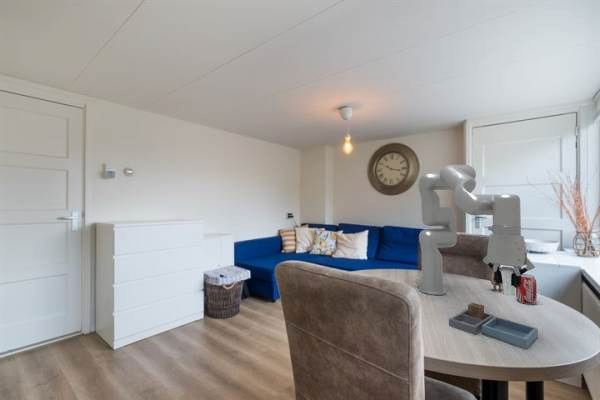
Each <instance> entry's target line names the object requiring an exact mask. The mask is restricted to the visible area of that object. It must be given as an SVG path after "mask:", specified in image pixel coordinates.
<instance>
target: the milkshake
mask: <svg viewBox="0 0 600 400" xmlns="http://www.w3.org/2000/svg"><path fill="white" fill-rule="evenodd" d="M498 266H499V265H498ZM499 268H500V269H499V272H500V278H501V293H502V294H503V295H505V296H509V297H513V296H516V288H515V287H514V275H515V270H514V267H512V266H499Z"/></svg>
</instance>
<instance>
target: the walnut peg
mask: <svg viewBox="0 0 600 400" xmlns="http://www.w3.org/2000/svg"><path fill="white" fill-rule="evenodd" d="M467 309H468V316H471V317H475V318H478V319H481V320H484V313H485V305H484V304H479V303H476V302H471V303H469V304H467Z"/></svg>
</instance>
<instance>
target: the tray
mask: <svg viewBox="0 0 600 400" xmlns="http://www.w3.org/2000/svg"><path fill="white" fill-rule="evenodd" d="M538 330H539V329H538V328H536V327H533V326H530V325H526V324H523V323H520V322H516V321H512V320H509V319H506V318H502V317H498V316H494V318H492V319H491V320H489V321H488V322H486V323H485V324H483V325H482V331H481V335H483V336H485V337H487V338H488V337H489V338H492V339H495V340H498V341H499V342H503V343H506V344H510V345H512V346H515V347H517V348H521V349H524V350H528V348H530V347H531V345H532V344H534V342H535V341H536V340H537V339H538V338H539V331H538Z"/></svg>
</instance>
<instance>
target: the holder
mask: <svg viewBox="0 0 600 400" xmlns="http://www.w3.org/2000/svg"><path fill="white" fill-rule="evenodd" d="M494 317H495V315H494V314H491V313H487V312H484V320H481V319H478V318H475V317H471V316H468V308H466V309H465V310H462V311H461V312H459V313H457V314H454V315H453V316H452V317H450V318H448V326H449V327H452V328H455V329H458V330H460V331H463V332H465V333H469V334H471V335H477V334H479V333H480V332H482V325H483V324H485V323H486V322H488V321H489V320H491V319H492V318H494Z"/></svg>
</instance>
